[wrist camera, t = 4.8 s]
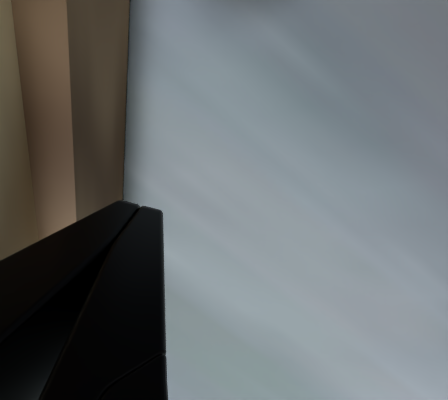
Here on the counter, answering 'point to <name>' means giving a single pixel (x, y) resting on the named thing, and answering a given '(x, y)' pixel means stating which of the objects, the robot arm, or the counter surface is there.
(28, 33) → the trap deck
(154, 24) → the counter surface
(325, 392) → the counter surface
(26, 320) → the robot arm
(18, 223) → the maple slab
